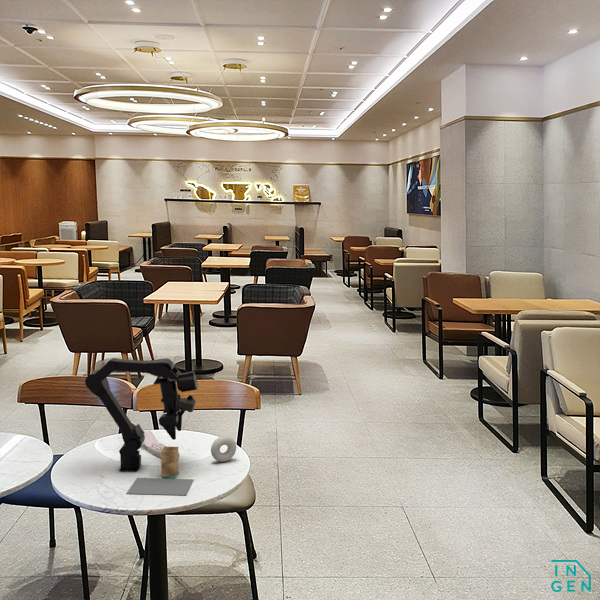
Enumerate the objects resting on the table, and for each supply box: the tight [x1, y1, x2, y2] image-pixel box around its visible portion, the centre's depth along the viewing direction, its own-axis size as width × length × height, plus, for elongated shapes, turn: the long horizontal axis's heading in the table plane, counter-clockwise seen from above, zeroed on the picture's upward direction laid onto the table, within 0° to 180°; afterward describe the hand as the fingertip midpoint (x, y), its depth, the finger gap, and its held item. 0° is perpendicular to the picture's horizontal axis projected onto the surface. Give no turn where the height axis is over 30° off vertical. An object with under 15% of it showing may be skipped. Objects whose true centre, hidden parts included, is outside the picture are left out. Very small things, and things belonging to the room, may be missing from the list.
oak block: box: [160, 445, 180, 479], centre depth 236 cm, size 5×5×10 cm
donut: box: [210, 435, 237, 463], centre depth 251 cm, size 10×3×10 cm, turn 117°
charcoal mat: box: [126, 477, 194, 497], centre depth 228 cm, size 20×13×1 cm, turn 88°
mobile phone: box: [143, 429, 181, 459], centre depth 259 cm, size 6×6×25 cm
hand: (177, 435), depth 242 cm, fingers open, 9 cm apart
